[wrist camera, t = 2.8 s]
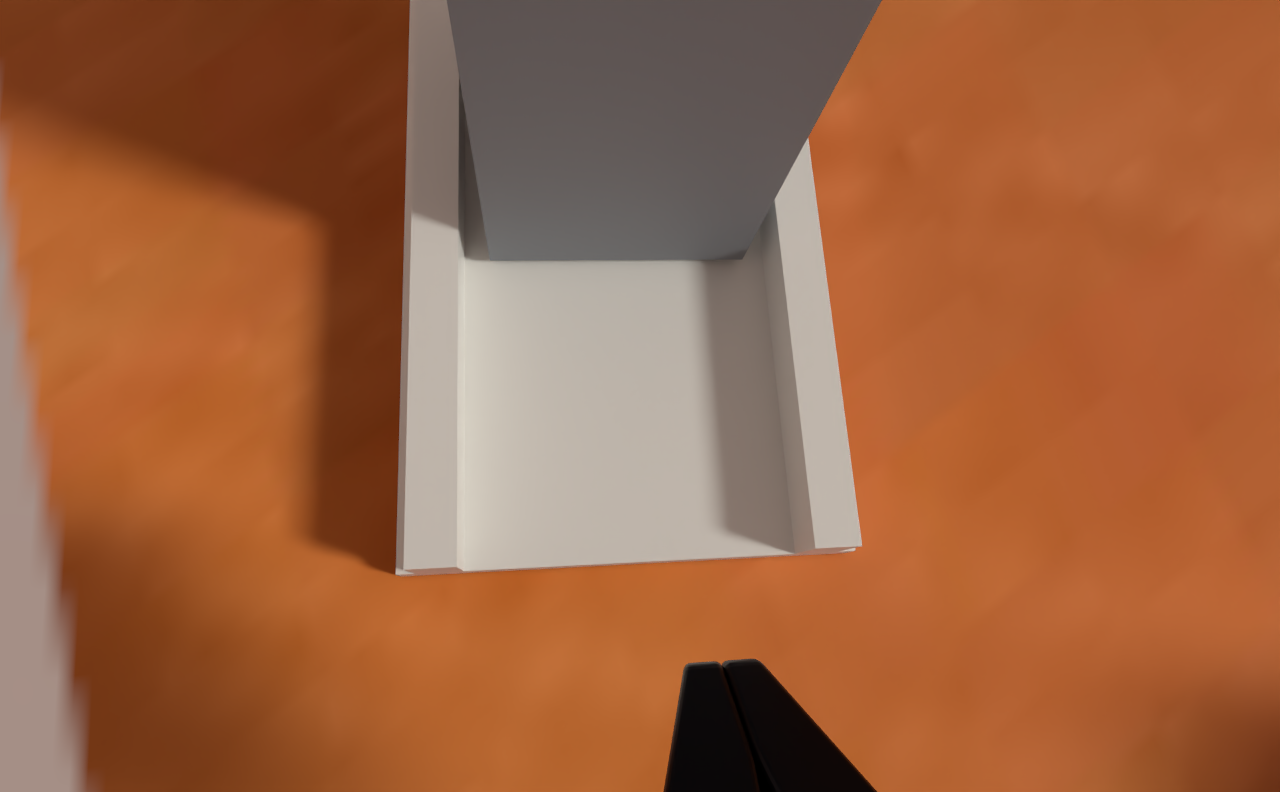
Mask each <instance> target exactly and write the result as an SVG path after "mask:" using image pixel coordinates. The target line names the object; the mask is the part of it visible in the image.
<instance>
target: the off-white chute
mask: <svg viewBox="0 0 1280 792" xmlns="http://www.w3.org/2000/svg"><path fill="white" fill-rule="evenodd" d="M860 546H862V541H861V534H860V526H859V519H858V511H857V504H856V496H855V488H854V481H853V473H852V466H851V458H850V451H849V443H848V436H847V428H846V420H845V413H844V405H843V398H842V390H841V383H840V375H839V368H838V360H837V352H836V345H835V337H834V330H833V322H832V315H831V307H830V300H829V292H828V284H827V277H826V269H825V262H824V254H823V247H822V239H821V232H820V224H819V216H818V209H817V201H816V194H815V186H814V179H813V171H812V164H811V156H810V148H809V141H808V138H807V140H806V142H805V144H804V146H803V148H802V149H801V151H800V153H799V155H798V157H797V159H796V161H795V162H794V164H793V166H792V168H791V170H790V172H789V174H788V176H787V177H786V179H785V181H784V183H783V185H782V187H781V189H780V190H779V192H778V194H777V196H776V198H775V200H774V202H773V203H772V205H771V207H770V209H769V211H768V213H767V215H766V216H765V218H764V220H763V222H762V224H761V226H760V228H759V229H758V231H757V233H756V235H755V237H754V239H753V241H752V242H751V244H750V246H749V248H748V250H747V252H746V254H745V256H744V257H743V259H742V260H531V261H490V259H489V253H488V247H487V241H486V235H485V229H484V223H483V217H482V211H481V205H480V198H479V192H478V186H477V180H476V174H475V168H474V162H473V156H472V150H471V144H470V138H469V132H468V126H467V120H466V114H465V108H464V102H463V96H462V90H461V84H460V78H459V72H458V66H457V60H456V54H455V47H454V41H453V35H452V29H451V23H450V17H449V11H448V5H447V0H410V20H409V60H408V100H407V141H406V181H405V221H404V261H403V301H402V341H401V381H400V421H399V461H398V501H397V541H396V575H398V576H416V575H435V574H454V573H473V572H492V571H511V570H530V569H549V568H568V567H587V566H607V565H626V564H645V563H664V562H683V561H702V560H721V559H740V558H759V557H778V556H797V555H816V554H835V553H848V552H852V551H855V548H856V547H860Z"/></svg>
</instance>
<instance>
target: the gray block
mask: <svg viewBox="0 0 1280 792" xmlns="http://www.w3.org/2000/svg"><path fill="white" fill-rule="evenodd" d="M881 1H882V0H447V5H448V11H449V17H450V23H451V29H452V35H453V41H454V47H455V54H456V60H457V66H458V72H459V78H460V84H461V90H462V96H463V102H464V108H465V114H466V120H467V126H468V132H469V138H470V144H471V150H472V156H473V162H474V168H475V174H476V180H477V186H478V192H479V198H480V205H481V211H482V217H483V223H484V229H485V235H486V241H487V247H488V253H489V259H490V261H531V260H742V259H743V257H744V256H745V254H746V252H747V250H748V248H749V246H750V244H751V242H752V241H753V239H754V237H755V235H756V233H757V231H758V229H759V228H760V226H761V224H762V222H763V220H764V218H765V216H766V215H767V213H768V211H769V209H770V207H771V205H772V203H773V202H774V200H775V198H776V196H777V194H778V192H779V190H780V189H781V187H782V185H783V183H784V181H785V179H786V177H787V176H788V174H789V172H790V170H791V168H792V166H793V164H794V162H795V161H796V159H797V157H798V155H799V153H800V151H801V149H802V148H803V146H804V144H805V142H806V140H807V138H808V136H809V135H810V133H811V131H812V129H813V127H814V125H815V123H816V122H817V120H818V118H819V116H820V114H821V112H822V110H823V109H824V107H825V105H826V103H827V101H828V99H829V97H830V96H831V94H832V92H833V90H834V88H835V86H836V84H837V83H838V81H839V79H840V77H841V75H842V73H843V71H844V69H845V68H846V66H847V64H848V62H849V60H850V58H851V56H852V55H853V53H854V51H855V49H856V47H857V45H858V43H859V42H860V40H861V38H862V36H863V34H864V32H865V30H866V29H867V27H868V25H869V23H870V21H871V19H872V17H873V16H874V14H875V12H876V10H877V8H878V6H879V4H880V3H881Z"/></svg>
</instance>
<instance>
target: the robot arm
mask: <svg viewBox="0 0 1280 792" xmlns="http://www.w3.org/2000/svg"><path fill="white" fill-rule="evenodd" d="M664 792H877V791H876V790H875V789H874V788H873V787H872V786H871V784H870V783H869V782H868V781H867V780H866V779H865V778H864V777H863V775H862V774H861V773H860V772H859V771H858V770H857V769H856V768H855V766H854V765H853V764H852V763H851V762H850V761H849V760H848V759H847V758H846V756H845V755H844V754H843V753H842V752H841V751H840V750H839V749H838V747H837V746H836V745H835V744H834V743H833V742H832V741H831V740H830V738H829V737H828V736H827V735H826V734H825V733H824V732H823V731H822V730H821V728H820V727H819V726H818V725H817V724H816V723H815V722H814V721H813V719H812V718H811V717H810V716H809V715H808V714H807V713H806V712H805V710H804V709H803V708H802V707H801V706H800V705H799V704H798V703H797V702H796V700H795V699H794V698H793V697H792V696H791V695H790V694H789V693H788V691H787V690H786V689H785V688H784V687H783V686H782V685H781V684H780V682H779V681H778V680H777V679H776V678H775V677H774V676H773V675H772V674H771V672H770V671H769V670H768V669H767V668H766V667H765V666H764V665H763V664H762V663H761V662H760V661H758V660H756V659H741V660H728V661H725V662H724V663H722V666H721V664H720V663H718V662H714V661H713V662H698V663H688V664H687V665H686V666H685V667H684V670H683V676H682V682H681V688H680V695H679V701H678V707H677V713H676V719H675V725H674V731H673V737H672V743H671V750H670V756H669V762H668V768H667V774H666V780H665V786H664Z"/></svg>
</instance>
